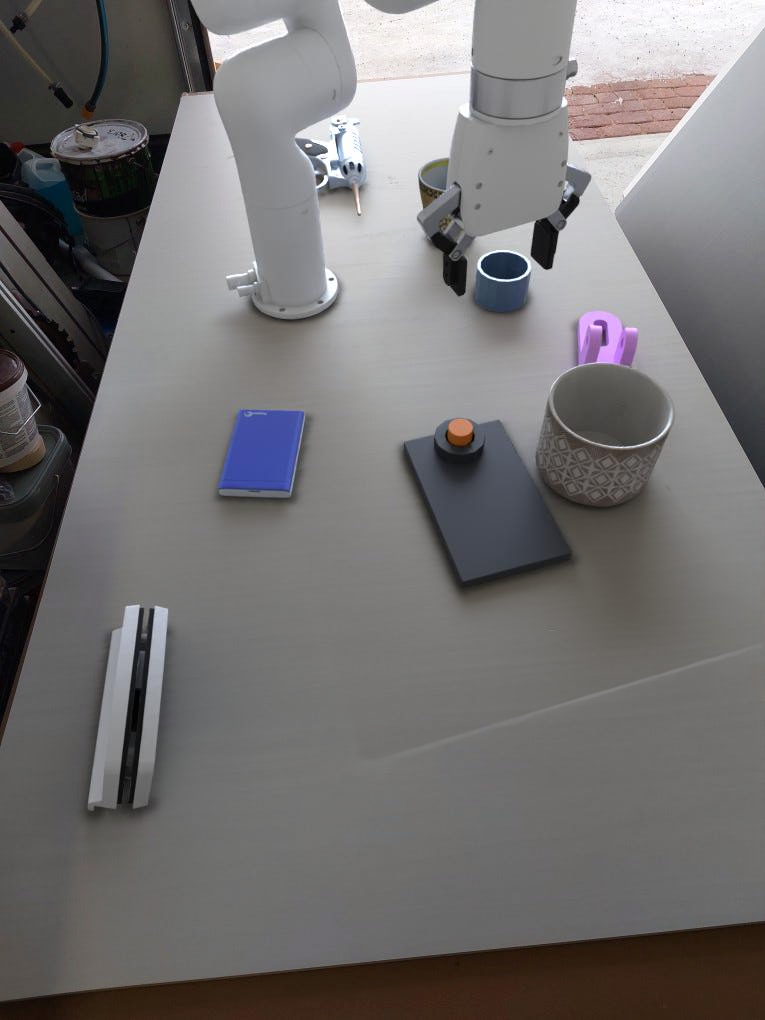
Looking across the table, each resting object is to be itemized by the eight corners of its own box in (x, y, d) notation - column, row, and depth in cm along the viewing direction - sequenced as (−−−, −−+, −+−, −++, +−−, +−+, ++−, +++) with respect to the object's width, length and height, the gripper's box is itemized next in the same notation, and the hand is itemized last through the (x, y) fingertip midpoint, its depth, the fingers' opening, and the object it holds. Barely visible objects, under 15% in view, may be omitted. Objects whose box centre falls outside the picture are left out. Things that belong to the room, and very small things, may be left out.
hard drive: (238, 408, 85) (217, 487, 77) (304, 410, 84) (289, 489, 77) (240, 417, 86) (220, 496, 78) (305, 419, 85) (291, 498, 78)
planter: (664, 503, 76) (696, 439, 68) (553, 520, 75) (572, 457, 67) (622, 422, 83) (645, 355, 75) (520, 436, 82) (533, 370, 74)
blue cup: (485, 316, 96) (488, 286, 92) (467, 286, 101) (469, 255, 97) (534, 306, 97) (540, 275, 93) (514, 276, 102) (518, 246, 98)
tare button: (452, 449, 78) (453, 438, 77) (444, 432, 80) (444, 421, 78) (475, 443, 78) (476, 433, 77) (466, 426, 80) (467, 416, 79)
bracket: (624, 385, 87) (638, 341, 82) (579, 382, 88) (590, 338, 82) (618, 320, 95) (631, 276, 89) (576, 318, 96) (587, 274, 90)
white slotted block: (112, 635, 68) (115, 582, 61) (162, 637, 69) (171, 586, 62) (87, 814, 58) (86, 777, 50) (146, 813, 59) (154, 776, 52)
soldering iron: (277, 149, 129) (361, 134, 128) (282, 244, 114) (378, 227, 113) (269, 118, 124) (356, 102, 123) (274, 213, 109) (373, 195, 108)
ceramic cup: (472, 259, 105) (477, 195, 97) (409, 248, 107) (409, 185, 99) (491, 214, 112) (498, 152, 104) (432, 205, 114) (434, 144, 106)
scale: (461, 589, 70) (463, 573, 68) (402, 447, 82) (402, 430, 80) (570, 559, 72) (575, 543, 69) (496, 425, 84) (499, 407, 81)
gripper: (583, 51, 59) (553, 235, 73) (399, 93, 56) (404, 279, 69) (635, 81, 55) (594, 272, 68) (440, 129, 51) (436, 320, 65)
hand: (498, 275), depth 69 cm, fingers open, 9 cm apart
